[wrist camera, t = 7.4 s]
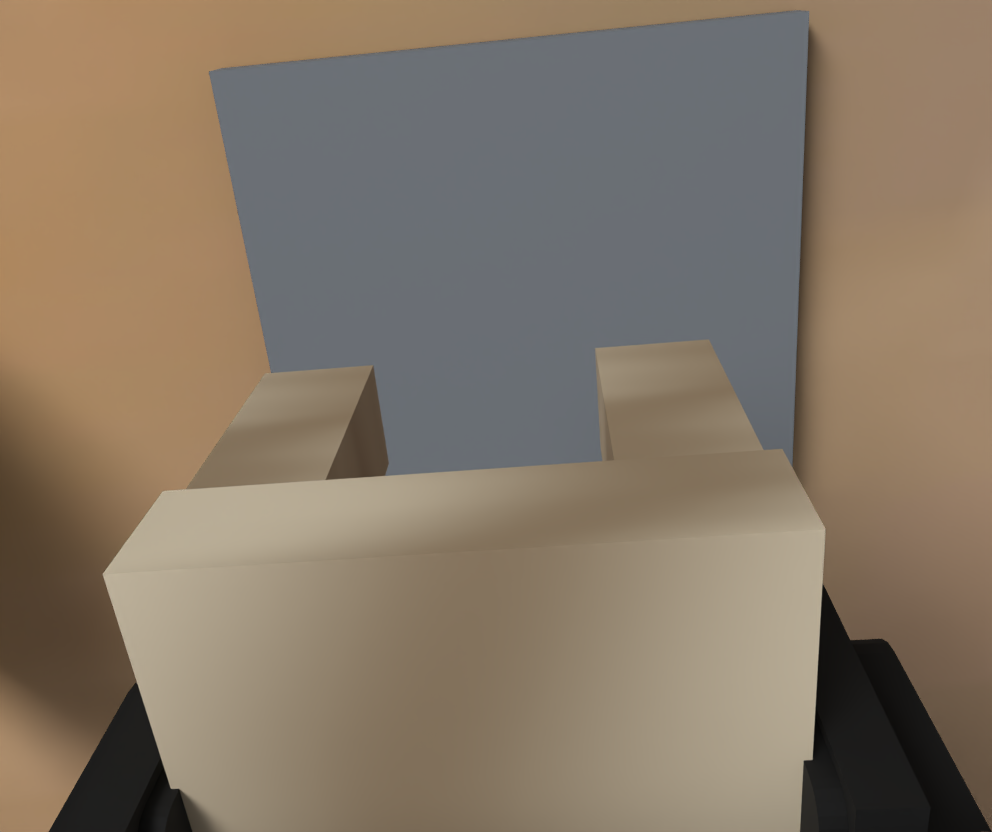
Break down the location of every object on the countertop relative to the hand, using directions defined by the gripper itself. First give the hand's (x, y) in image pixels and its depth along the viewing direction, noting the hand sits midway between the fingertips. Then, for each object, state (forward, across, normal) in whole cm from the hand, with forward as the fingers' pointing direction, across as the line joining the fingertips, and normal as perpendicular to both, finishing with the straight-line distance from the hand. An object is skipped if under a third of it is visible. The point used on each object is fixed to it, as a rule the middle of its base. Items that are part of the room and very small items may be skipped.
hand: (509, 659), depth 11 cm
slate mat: (+16, 0, 0) cm, 16 cm away
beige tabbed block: (+1, 0, 0) cm, 1 cm away
